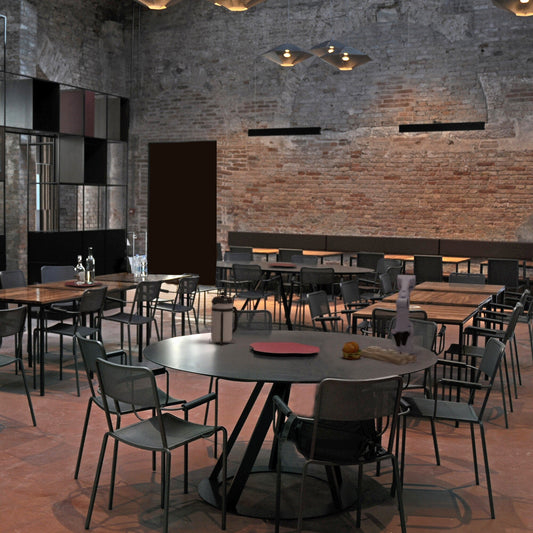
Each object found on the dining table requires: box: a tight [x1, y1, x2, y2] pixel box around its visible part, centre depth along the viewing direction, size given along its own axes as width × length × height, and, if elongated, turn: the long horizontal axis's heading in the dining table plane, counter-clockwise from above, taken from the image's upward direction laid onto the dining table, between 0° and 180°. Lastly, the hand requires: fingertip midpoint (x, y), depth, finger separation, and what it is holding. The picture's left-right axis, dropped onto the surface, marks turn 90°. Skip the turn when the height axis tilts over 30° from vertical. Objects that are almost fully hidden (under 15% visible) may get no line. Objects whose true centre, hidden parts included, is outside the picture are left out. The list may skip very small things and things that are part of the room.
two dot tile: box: [379, 348, 396, 355], centre depth 398 cm, size 6×6×3 cm
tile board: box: [361, 348, 417, 366], centre depth 398 cm, size 14×28×3 cm, turn 41°
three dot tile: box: [392, 351, 410, 358], centre depth 391 cm, size 6×6×3 cm
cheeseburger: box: [341, 341, 363, 360], centre depth 397 cm, size 10×11×10 cm
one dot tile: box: [366, 345, 383, 352], centre depth 405 cm, size 6×6×3 cm
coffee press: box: [208, 291, 239, 346], centre depth 430 cm, size 17×16×30 cm
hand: (400, 345), depth 391 cm, fingers open, 4 cm apart
